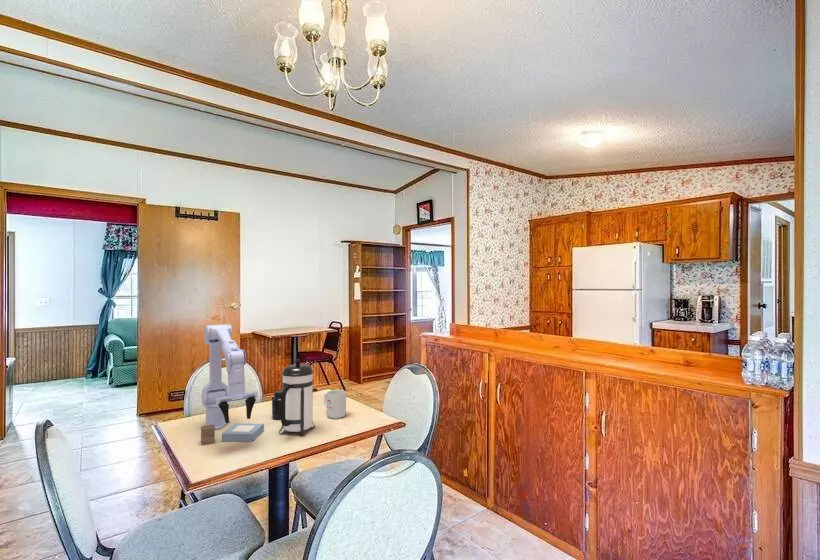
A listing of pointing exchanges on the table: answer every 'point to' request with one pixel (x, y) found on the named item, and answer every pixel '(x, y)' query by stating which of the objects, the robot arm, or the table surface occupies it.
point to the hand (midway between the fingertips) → (238, 420)
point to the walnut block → (207, 434)
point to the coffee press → (297, 398)
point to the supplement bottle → (276, 405)
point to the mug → (335, 403)
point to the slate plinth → (243, 432)
